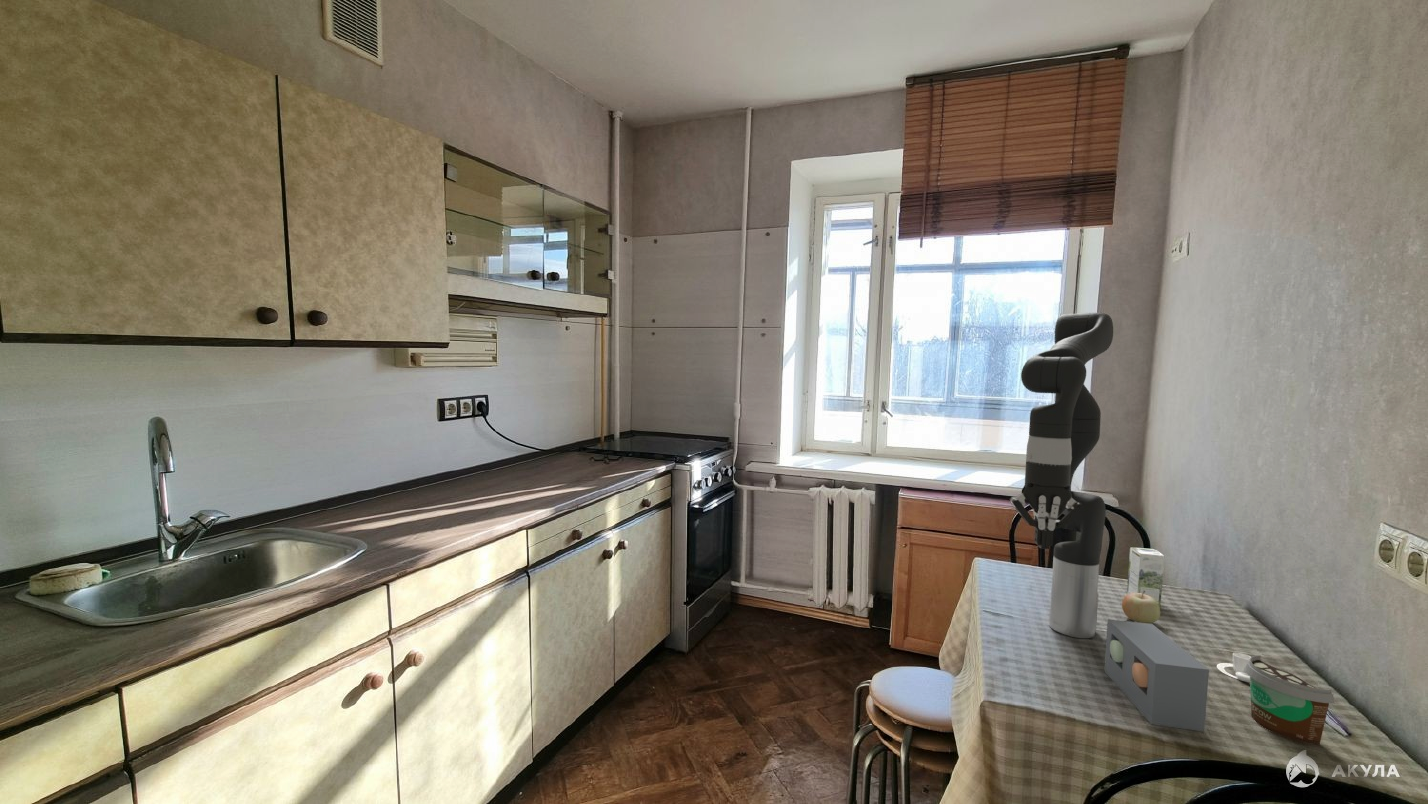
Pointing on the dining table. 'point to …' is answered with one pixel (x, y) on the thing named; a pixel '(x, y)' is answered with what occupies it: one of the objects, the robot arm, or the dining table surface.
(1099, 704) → the dining table surface
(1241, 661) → the teacup and saucer
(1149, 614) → the fruit
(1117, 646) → the sage button
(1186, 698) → the block
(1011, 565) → the dining table surface
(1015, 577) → the dining table surface
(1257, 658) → the food container
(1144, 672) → the terracotta button
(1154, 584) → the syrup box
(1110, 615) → the dining table surface
